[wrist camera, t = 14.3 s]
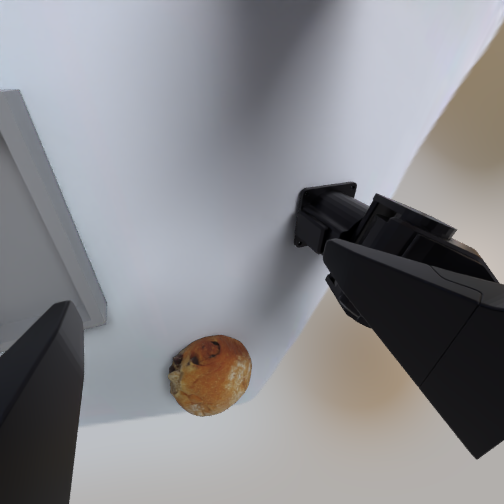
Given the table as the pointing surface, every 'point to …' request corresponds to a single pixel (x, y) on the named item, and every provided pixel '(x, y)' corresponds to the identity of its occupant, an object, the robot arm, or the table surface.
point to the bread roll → (210, 375)
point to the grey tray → (37, 234)
